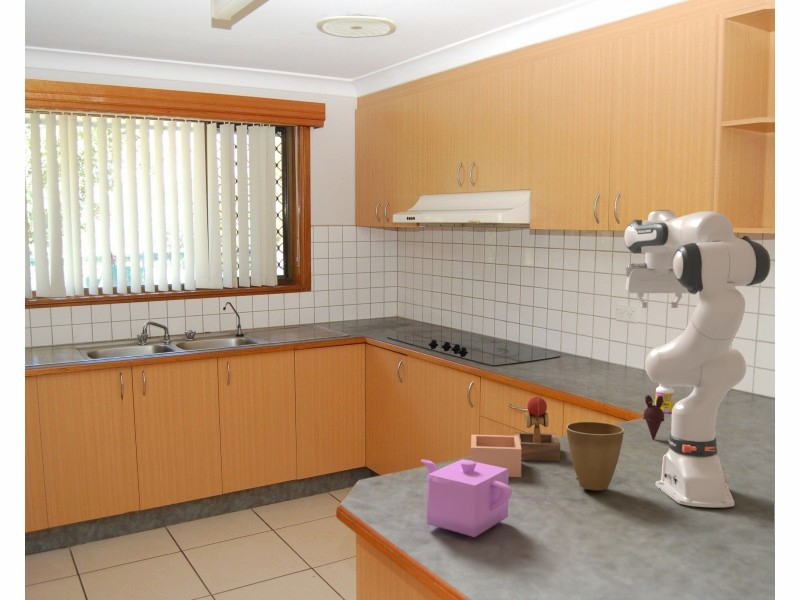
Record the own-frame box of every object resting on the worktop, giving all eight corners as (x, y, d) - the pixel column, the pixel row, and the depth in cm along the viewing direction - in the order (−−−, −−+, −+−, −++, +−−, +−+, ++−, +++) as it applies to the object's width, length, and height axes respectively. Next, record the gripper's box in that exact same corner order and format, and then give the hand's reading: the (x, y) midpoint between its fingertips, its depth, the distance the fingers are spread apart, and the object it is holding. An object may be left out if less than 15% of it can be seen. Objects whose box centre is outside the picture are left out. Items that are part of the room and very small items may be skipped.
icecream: (644, 442, 234) (645, 397, 233) (640, 436, 241) (641, 392, 240) (666, 443, 233) (668, 397, 232) (661, 437, 240) (662, 393, 239)
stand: (521, 477, 199) (521, 449, 198) (470, 475, 200) (470, 447, 200) (518, 462, 213) (518, 435, 212) (471, 460, 214) (471, 434, 213)
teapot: (438, 498, 182) (438, 445, 181) (526, 521, 167) (527, 463, 166) (402, 516, 170) (402, 459, 169) (494, 542, 155) (494, 479, 154)
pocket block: (560, 461, 214) (560, 444, 213) (516, 459, 215) (516, 443, 215) (555, 448, 227) (555, 433, 226) (514, 447, 228) (514, 432, 228)
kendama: (521, 455, 219) (521, 397, 218) (526, 450, 225) (526, 394, 224) (546, 458, 216) (547, 400, 215) (550, 453, 222) (551, 396, 221)
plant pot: (634, 489, 189) (636, 429, 188) (594, 499, 181) (595, 437, 180) (593, 473, 202) (594, 418, 201) (553, 482, 194) (554, 424, 193)
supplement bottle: (652, 414, 273) (653, 381, 272) (658, 411, 278) (659, 378, 277) (669, 417, 269) (670, 383, 268) (676, 413, 274) (677, 380, 273)
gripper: (628, 263, 218) (627, 308, 219) (697, 263, 217) (695, 308, 218) (623, 263, 224) (622, 306, 225) (689, 263, 223) (688, 307, 224)
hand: (659, 307), depth 221 cm, fingers open, 8 cm apart
